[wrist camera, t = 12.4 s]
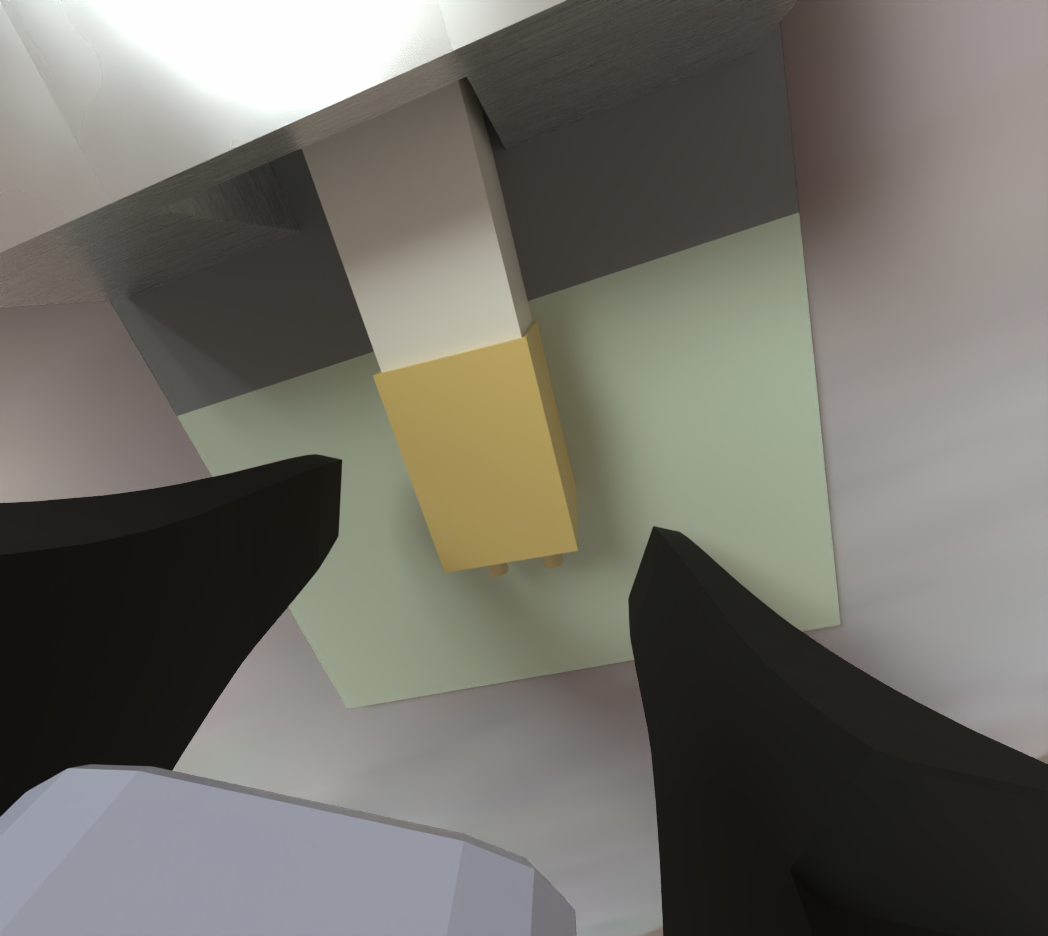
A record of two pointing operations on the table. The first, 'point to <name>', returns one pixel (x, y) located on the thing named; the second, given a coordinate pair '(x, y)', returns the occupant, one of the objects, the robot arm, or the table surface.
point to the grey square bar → (279, 109)
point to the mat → (577, 380)
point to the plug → (451, 328)
